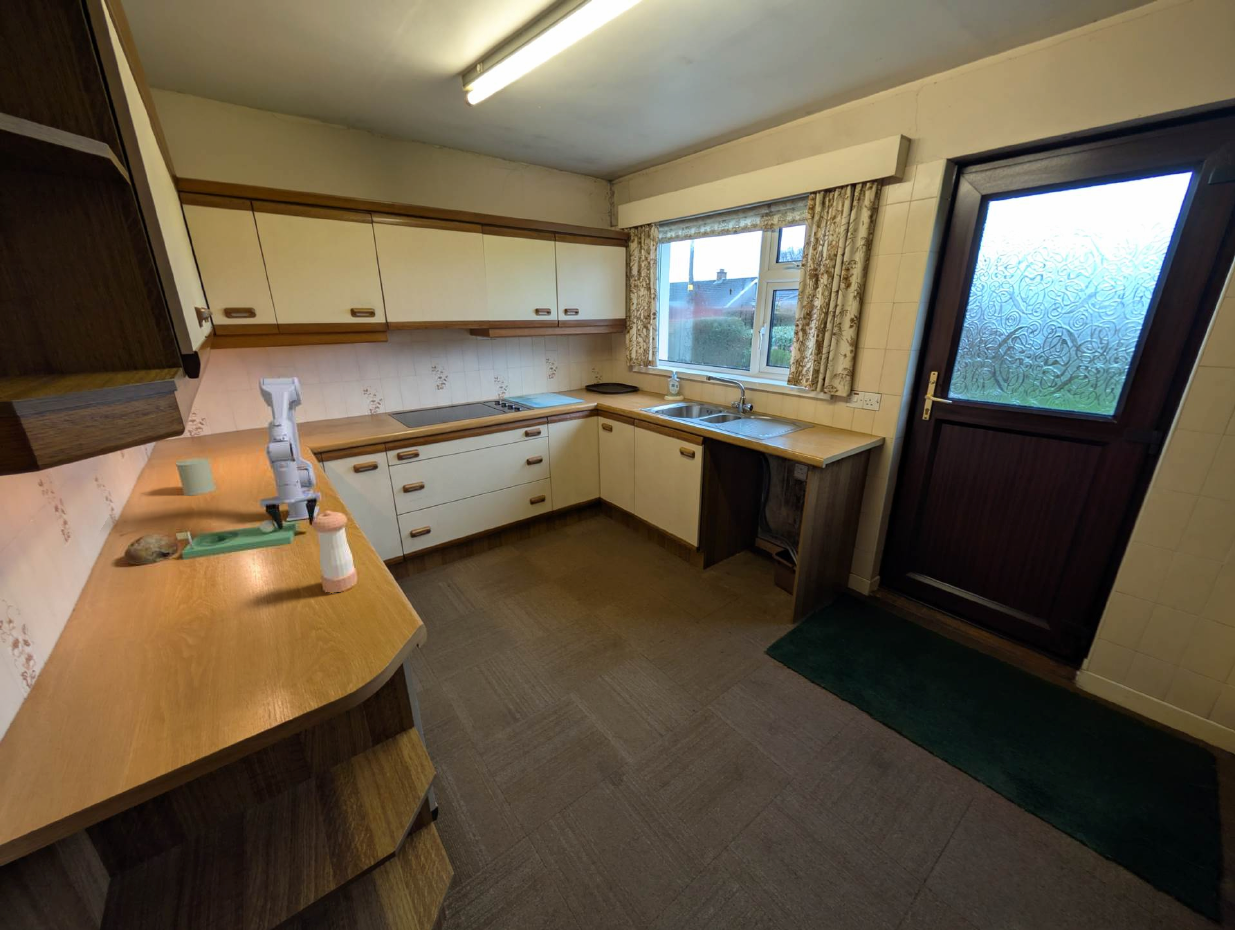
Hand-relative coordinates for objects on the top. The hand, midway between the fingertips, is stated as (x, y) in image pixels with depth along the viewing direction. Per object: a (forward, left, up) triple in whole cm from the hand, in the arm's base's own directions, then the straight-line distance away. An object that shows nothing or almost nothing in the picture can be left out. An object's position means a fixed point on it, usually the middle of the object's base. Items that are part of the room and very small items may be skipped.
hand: (296, 526), depth 140 cm
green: (0, -13, -3) cm, 13 cm away
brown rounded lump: (+1, -33, -3) cm, 33 cm away
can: (-57, -39, -3) cm, 69 cm away
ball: (0, -7, -1) cm, 7 cm away
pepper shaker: (+37, +14, -3) cm, 40 cm away
